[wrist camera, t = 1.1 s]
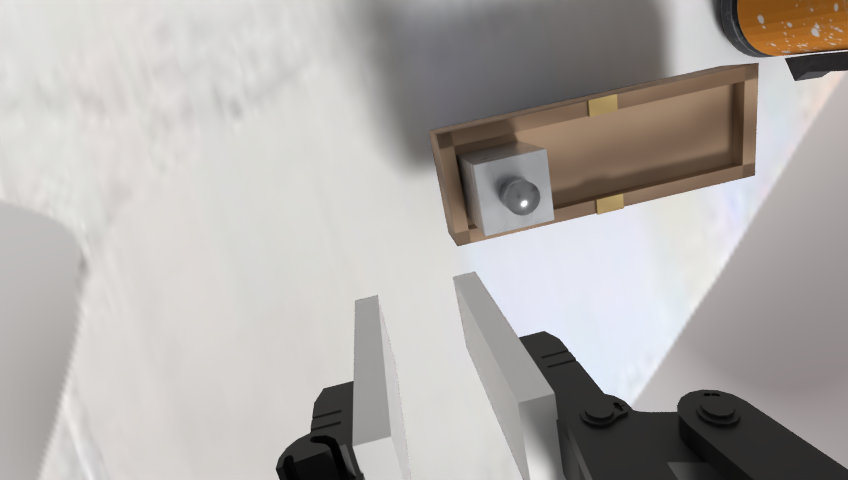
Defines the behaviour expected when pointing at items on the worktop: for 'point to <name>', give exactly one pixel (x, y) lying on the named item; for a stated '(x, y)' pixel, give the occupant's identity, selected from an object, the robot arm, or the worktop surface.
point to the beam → (617, 144)
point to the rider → (506, 187)
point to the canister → (790, 32)
